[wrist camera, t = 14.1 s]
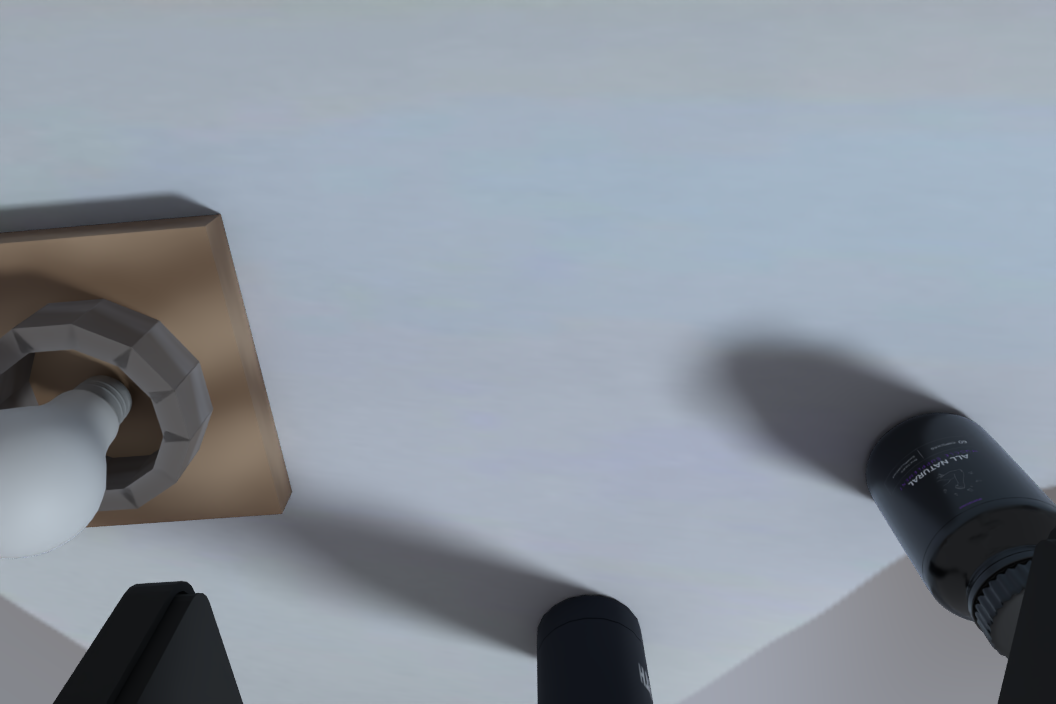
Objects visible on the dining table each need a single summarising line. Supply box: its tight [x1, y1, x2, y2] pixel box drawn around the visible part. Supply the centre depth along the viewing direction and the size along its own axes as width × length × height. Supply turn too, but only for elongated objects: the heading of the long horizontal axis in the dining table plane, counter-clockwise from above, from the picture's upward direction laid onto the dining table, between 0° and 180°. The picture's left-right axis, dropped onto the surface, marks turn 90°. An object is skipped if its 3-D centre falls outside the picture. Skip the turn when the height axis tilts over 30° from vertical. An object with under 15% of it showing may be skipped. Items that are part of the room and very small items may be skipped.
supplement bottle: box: [866, 413, 1056, 658], centre depth 39 cm, size 7×7×12 cm
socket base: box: [0, 214, 292, 527], centre depth 39 cm, size 16×14×5 cm
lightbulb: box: [0, 375, 132, 559], centre depth 35 cm, size 6×6×11 cm
